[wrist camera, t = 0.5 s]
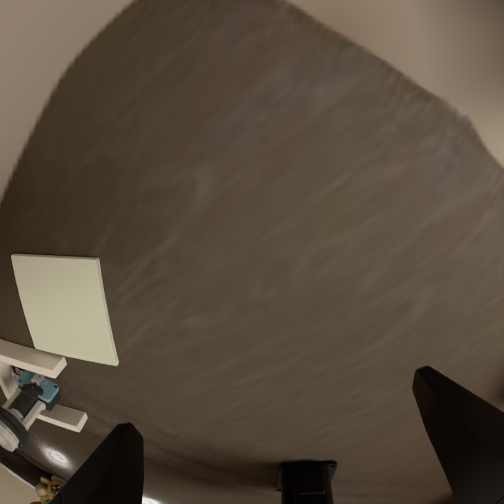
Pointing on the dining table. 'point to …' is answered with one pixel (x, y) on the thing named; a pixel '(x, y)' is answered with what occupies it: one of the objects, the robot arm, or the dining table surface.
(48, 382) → the push button
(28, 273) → the mat
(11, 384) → the white u-shaped bracket
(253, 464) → the dining table surface
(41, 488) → the decorative figurine
